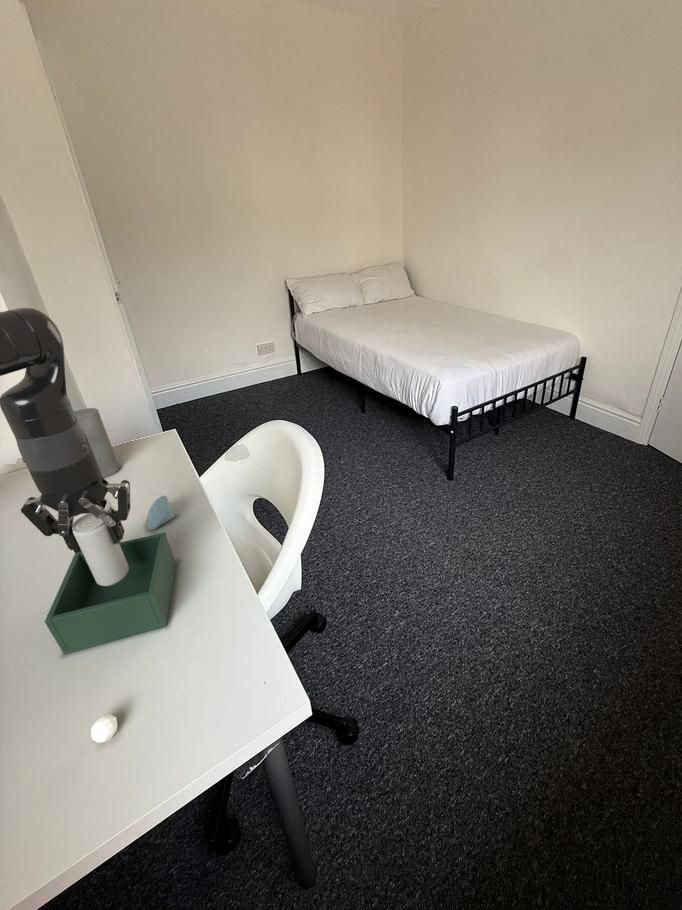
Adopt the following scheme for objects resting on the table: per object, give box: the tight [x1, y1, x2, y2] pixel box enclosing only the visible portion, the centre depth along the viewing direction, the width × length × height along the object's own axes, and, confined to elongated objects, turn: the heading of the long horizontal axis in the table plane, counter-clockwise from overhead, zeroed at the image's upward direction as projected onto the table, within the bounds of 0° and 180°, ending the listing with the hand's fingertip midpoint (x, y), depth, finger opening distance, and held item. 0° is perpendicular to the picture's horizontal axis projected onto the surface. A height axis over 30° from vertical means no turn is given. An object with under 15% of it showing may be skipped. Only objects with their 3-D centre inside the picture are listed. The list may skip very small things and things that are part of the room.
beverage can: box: [72, 513, 129, 586], centre depth 67 cm, size 5×5×12 cm
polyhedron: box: [90, 714, 118, 744], centre depth 54 cm, size 3×3×3 cm
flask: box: [74, 407, 120, 478], centre depth 103 cm, size 15×6×20 cm, turn 114°
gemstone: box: [146, 495, 176, 531], centre depth 91 cm, size 8×8×5 cm
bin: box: [44, 532, 177, 656], centre depth 71 cm, size 15×15×8 cm
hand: (99, 544), depth 66 cm, fingers closed on beverage can, 5 cm apart
